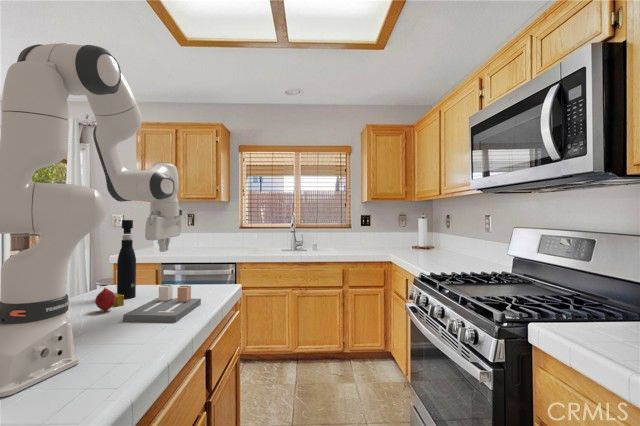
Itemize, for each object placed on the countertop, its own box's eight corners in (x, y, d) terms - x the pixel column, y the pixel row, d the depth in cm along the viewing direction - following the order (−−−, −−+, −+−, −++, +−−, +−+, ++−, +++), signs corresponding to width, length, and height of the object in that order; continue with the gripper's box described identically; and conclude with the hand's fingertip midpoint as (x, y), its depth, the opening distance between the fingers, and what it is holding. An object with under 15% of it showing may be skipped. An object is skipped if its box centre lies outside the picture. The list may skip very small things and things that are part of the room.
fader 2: (186, 301, 124) (186, 287, 124) (177, 301, 124) (177, 287, 124) (190, 298, 128) (191, 284, 128) (181, 298, 128) (182, 284, 128)
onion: (119, 309, 122) (119, 285, 122) (107, 314, 116) (108, 289, 116) (103, 308, 122) (103, 285, 122) (90, 313, 116) (91, 288, 116)
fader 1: (167, 300, 125) (167, 286, 125) (158, 300, 125) (158, 286, 125) (172, 298, 129) (172, 284, 129) (163, 297, 129) (163, 284, 129)
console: (176, 322, 108) (176, 315, 108) (123, 321, 108) (123, 314, 108) (200, 304, 130) (200, 298, 130) (156, 303, 130) (156, 297, 130)
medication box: (101, 302, 132) (101, 291, 132) (109, 300, 134) (109, 290, 134) (116, 307, 125) (116, 296, 125) (124, 305, 127) (124, 294, 127)
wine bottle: (119, 296, 141) (120, 219, 141) (137, 295, 143) (138, 220, 143) (115, 299, 135) (116, 220, 135) (133, 298, 137) (135, 220, 137)
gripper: (160, 211, 112) (159, 255, 112) (184, 211, 132) (184, 248, 132) (139, 210, 112) (139, 255, 112) (167, 210, 132) (167, 248, 132)
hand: (163, 251), depth 122 cm, fingers closed
